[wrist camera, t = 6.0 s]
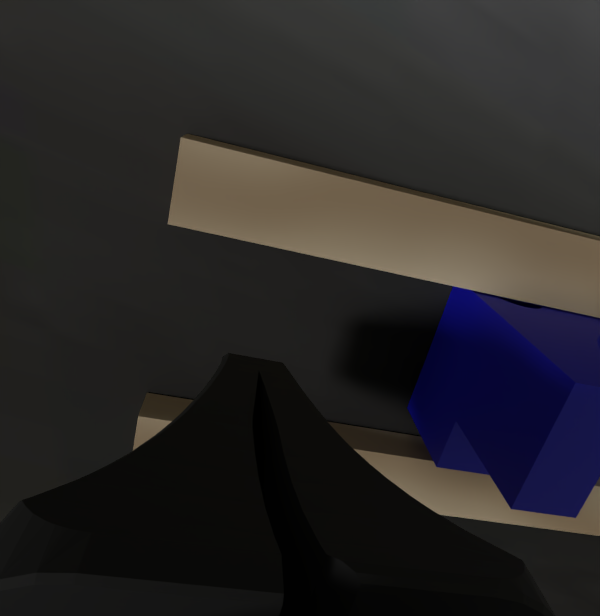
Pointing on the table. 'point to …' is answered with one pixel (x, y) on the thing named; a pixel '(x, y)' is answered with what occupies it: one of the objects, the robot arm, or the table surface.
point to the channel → (396, 259)
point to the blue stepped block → (514, 399)
